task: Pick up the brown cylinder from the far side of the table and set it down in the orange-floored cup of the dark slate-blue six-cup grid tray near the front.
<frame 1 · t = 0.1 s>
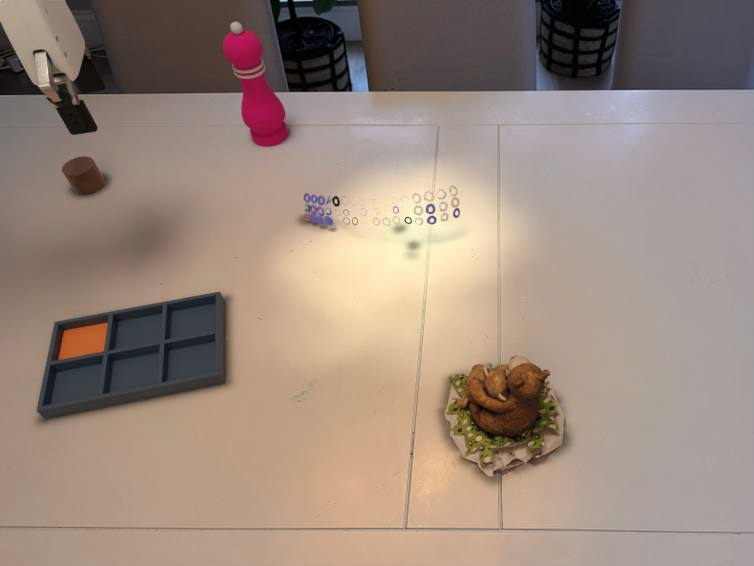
hand: (89, 110, 86), 22 cm above the table, tool pointing down, fingers open, 9 cm apart
brown cylinder: (90, 185, 112), on the table
ring set: (378, 233, 103), on the table
grid: (140, 356, 89), on the table
pepper mill: (271, 137, 119), on the table
bear figurine: (502, 417, 82), on the table
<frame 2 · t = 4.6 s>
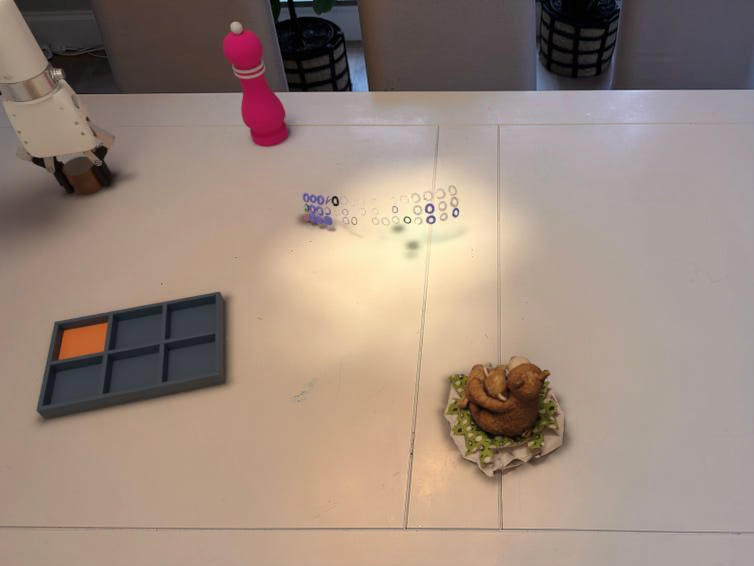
hand: (88, 183, 111), 0 cm above the table, tool pointing down, fingers closed on brown cylinder, 5 cm apart
brown cylinder: (90, 185, 112), on the table, touching gripper
everything else where it was.
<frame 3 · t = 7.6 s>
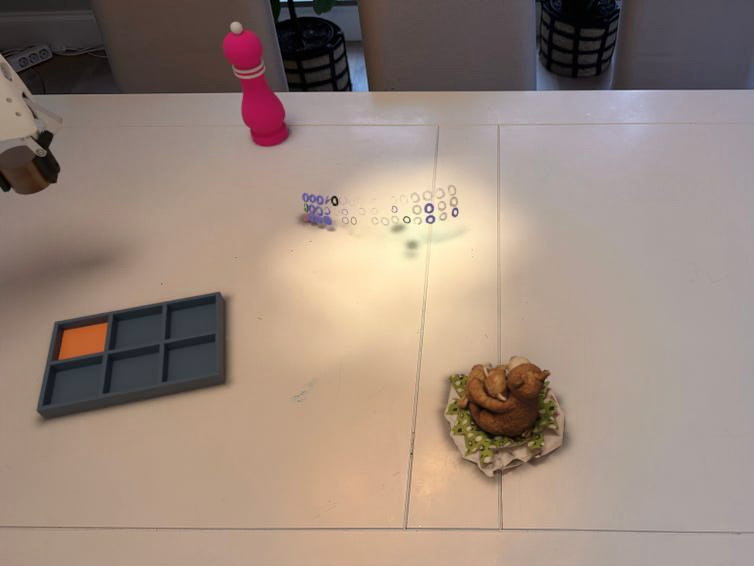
hand: (31, 180, 88), 15 cm above the table, tool pointing down, fingers closed on brown cylinder, 5 cm apart
brown cylinder: (33, 182, 88), point 15 cm above the table, touching gripper
everything else where it was.
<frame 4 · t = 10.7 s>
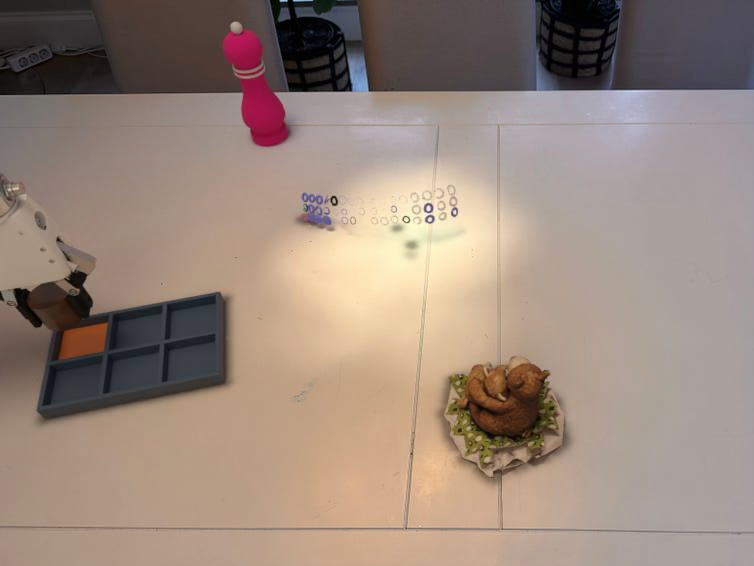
hand: (63, 314, 85), 7 cm above the table, tool pointing down, fingers closed on brown cylinder, 5 cm apart
brown cylinder: (65, 316, 85), point 6 cm above the table, touching gripper
everything else where it was.
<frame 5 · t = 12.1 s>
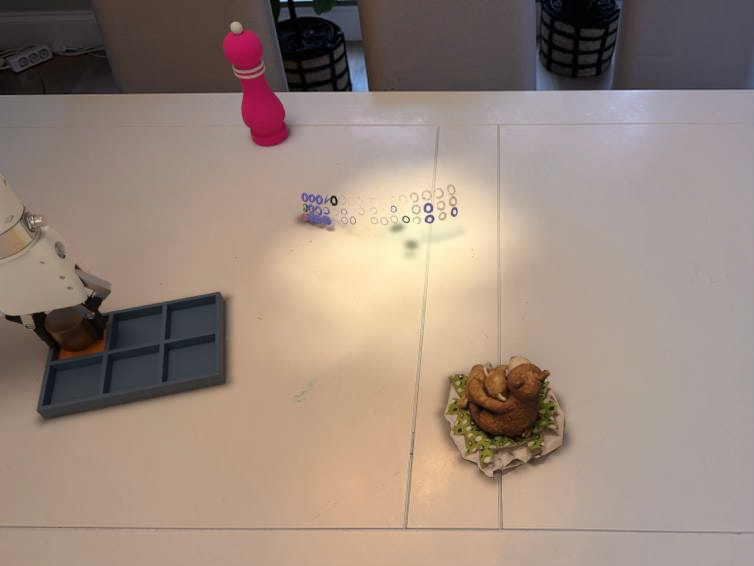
hand: (78, 335, 88), 2 cm above the table, tool pointing down, fingers closed on brown cylinder, 5 cm apart
brown cylinder: (80, 337, 89), point 2 cm above the table, touching gripper
everything else where it was.
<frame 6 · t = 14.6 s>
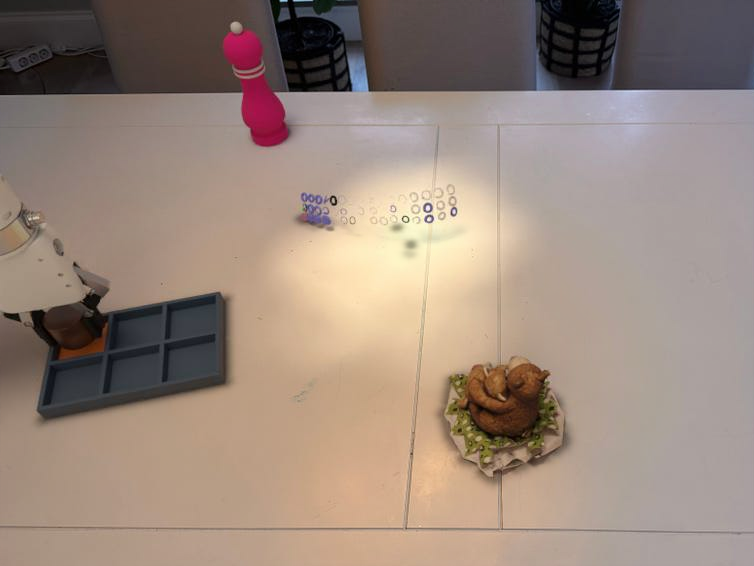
hand: (77, 333, 88), 3 cm above the table, tool pointing down, fingers closed on brown cylinder, 5 cm apart
brown cylinder: (78, 335, 88), point 2 cm above the table, touching gripper
everything else where it was.
when the fingers open (3 cm above the table, at t = 16.8 s): brown cylinder drops 1 cm, resting on grid.
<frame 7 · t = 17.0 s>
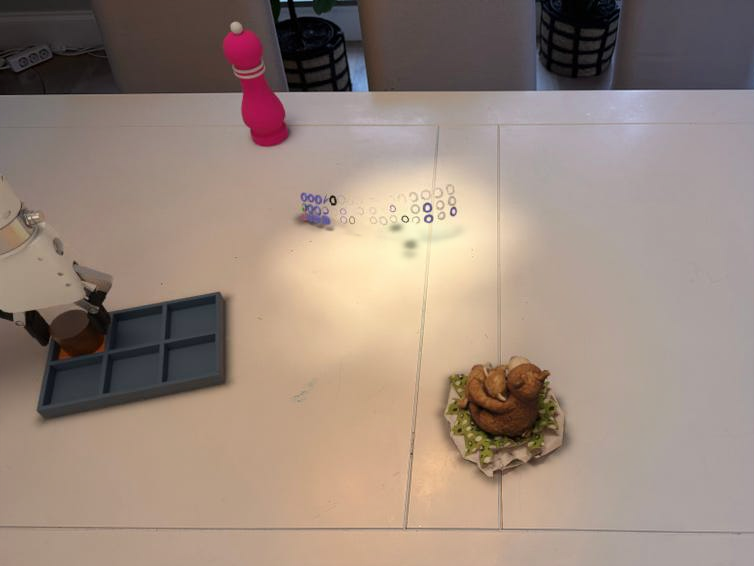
hand: (76, 331, 88), 3 cm above the table, tool pointing down, fingers open, 6 cm apart
brown cylinder: (84, 343, 90), point 1 cm above the table, touching grid
everything else where it was.
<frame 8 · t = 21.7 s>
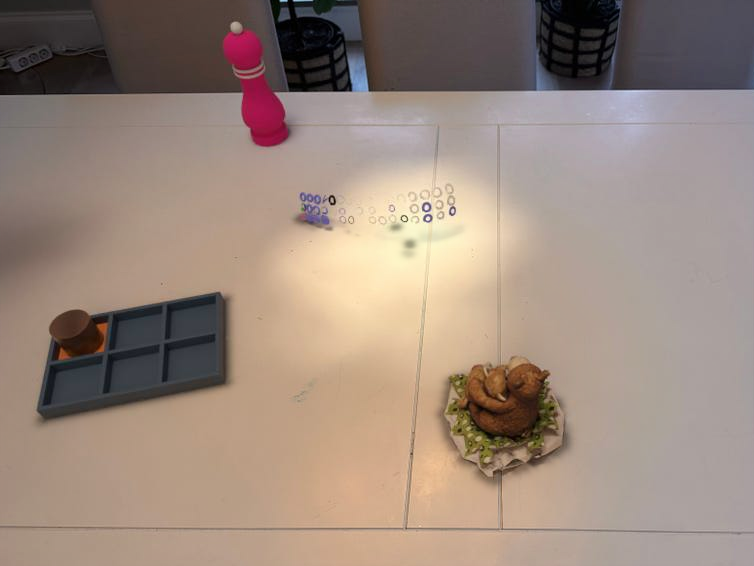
nothing on the table moved.
at the end: brown cylinder 0.1 cm from the target spot in the grid, point 0.7 cm above the grid's base; brown cylinder tilted 0° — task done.
